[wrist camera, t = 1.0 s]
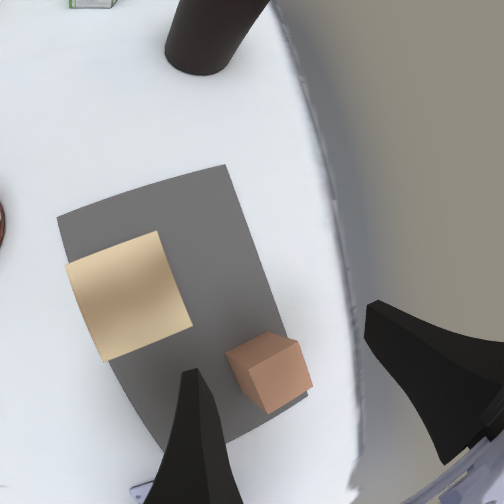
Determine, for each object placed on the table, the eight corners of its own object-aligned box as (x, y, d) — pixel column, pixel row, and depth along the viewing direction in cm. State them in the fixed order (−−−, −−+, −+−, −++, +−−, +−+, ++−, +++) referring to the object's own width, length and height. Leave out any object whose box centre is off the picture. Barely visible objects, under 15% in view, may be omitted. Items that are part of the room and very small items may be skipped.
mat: (305, 394, 24) (308, 395, 24) (173, 463, 18) (174, 466, 18) (223, 165, 23) (225, 164, 22) (57, 218, 17) (56, 217, 17)
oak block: (181, 316, 20) (193, 325, 16) (108, 346, 17) (103, 362, 14) (152, 239, 20) (156, 230, 16) (77, 267, 17) (64, 265, 13)
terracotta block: (282, 370, 23) (313, 386, 19) (243, 392, 21) (268, 414, 17) (267, 331, 23) (298, 341, 19) (225, 352, 21) (247, 369, 17)
